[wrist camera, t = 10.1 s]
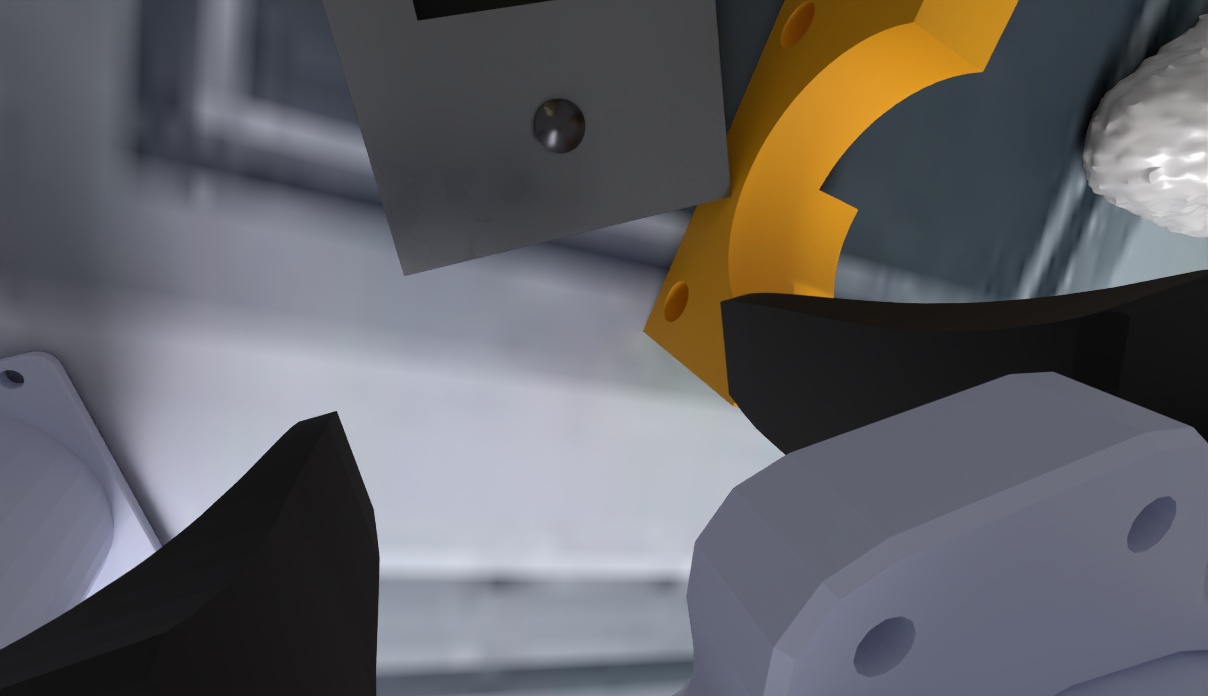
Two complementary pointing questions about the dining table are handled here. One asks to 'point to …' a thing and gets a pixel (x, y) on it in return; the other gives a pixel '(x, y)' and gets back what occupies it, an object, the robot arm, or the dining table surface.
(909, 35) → the pipe clamp
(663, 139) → the metal plate with hole
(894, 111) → the dining table surface
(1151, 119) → the sitting furry creature
